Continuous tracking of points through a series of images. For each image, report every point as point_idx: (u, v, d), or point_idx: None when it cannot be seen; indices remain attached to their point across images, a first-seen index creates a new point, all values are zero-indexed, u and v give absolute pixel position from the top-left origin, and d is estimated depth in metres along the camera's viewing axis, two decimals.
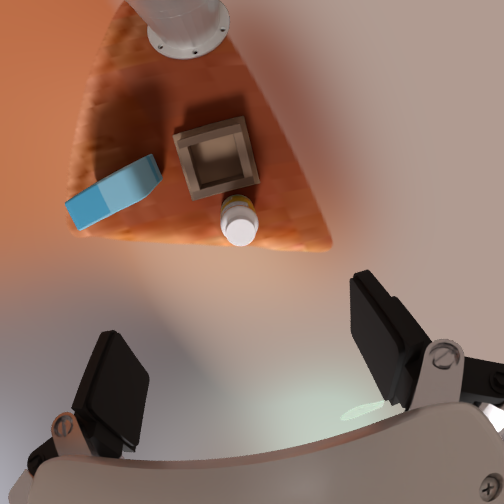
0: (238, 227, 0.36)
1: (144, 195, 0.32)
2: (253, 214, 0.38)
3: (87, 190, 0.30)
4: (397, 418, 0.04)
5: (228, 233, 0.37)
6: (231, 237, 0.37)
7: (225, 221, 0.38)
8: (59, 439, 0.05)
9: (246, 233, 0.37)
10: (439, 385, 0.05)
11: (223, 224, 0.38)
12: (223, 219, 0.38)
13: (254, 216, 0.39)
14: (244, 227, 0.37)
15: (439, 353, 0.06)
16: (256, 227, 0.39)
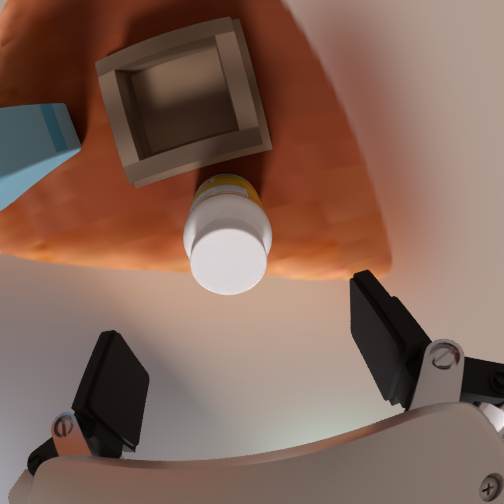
0: (223, 249, 0.14)
1: None
2: (260, 215, 0.16)
3: None
4: (397, 418, 0.04)
5: (196, 265, 0.14)
6: (204, 276, 0.14)
7: (191, 231, 0.15)
8: (59, 439, 0.05)
9: (243, 265, 0.14)
10: (439, 385, 0.05)
11: (188, 239, 0.16)
12: (187, 227, 0.16)
13: (263, 220, 0.16)
14: (238, 250, 0.14)
15: (439, 353, 0.06)
16: (267, 246, 0.16)
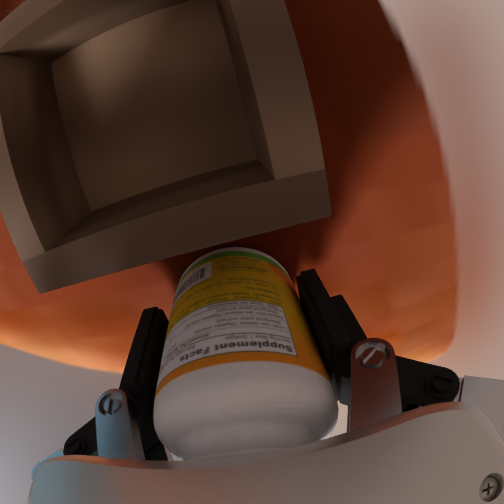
0: None
1: None
2: (325, 403, 0.06)
3: None
4: (397, 418, 0.04)
5: None
6: None
7: (168, 436, 0.06)
8: (107, 417, 0.06)
9: None
10: (360, 382, 0.06)
11: (165, 442, 0.06)
12: (159, 424, 0.06)
13: (329, 410, 0.06)
14: None
15: (366, 353, 0.07)
16: (327, 436, 0.07)
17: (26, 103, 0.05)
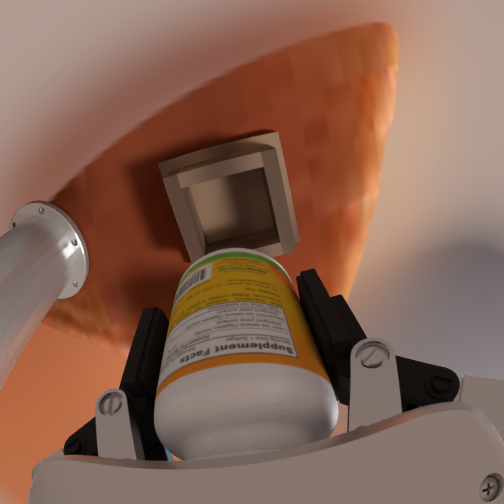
0: None
1: None
2: (326, 405, 0.06)
3: None
4: (397, 418, 0.04)
5: None
6: None
7: (169, 437, 0.06)
8: (107, 417, 0.06)
9: None
10: (360, 382, 0.06)
11: (165, 443, 0.06)
12: (159, 426, 0.06)
13: (329, 411, 0.06)
14: None
15: (366, 353, 0.07)
16: (327, 437, 0.07)
17: (226, 248, 0.25)
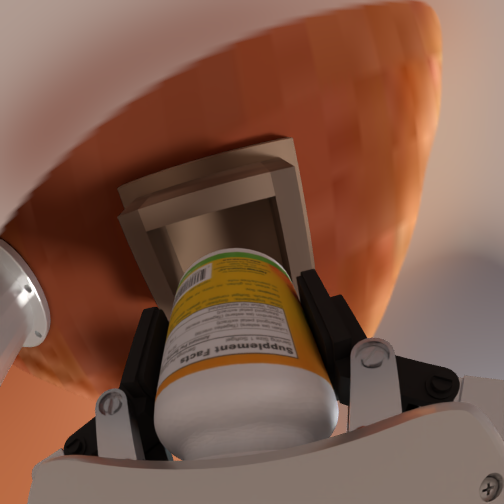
0: None
1: None
2: (326, 405, 0.06)
3: None
4: (397, 418, 0.04)
5: None
6: None
7: (169, 438, 0.06)
8: (107, 417, 0.06)
9: None
10: (360, 382, 0.06)
11: (165, 443, 0.06)
12: (160, 426, 0.06)
13: (329, 412, 0.06)
14: None
15: (366, 353, 0.07)
16: None
17: None
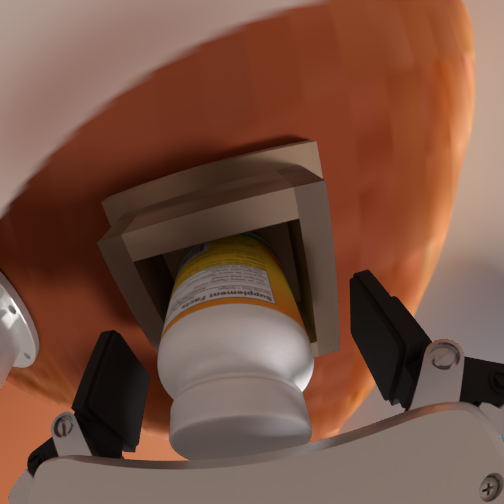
0: (231, 436, 0.06)
1: None
2: (299, 343, 0.08)
3: None
4: (397, 418, 0.04)
5: (183, 448, 0.06)
6: (199, 456, 0.06)
7: (169, 372, 0.08)
8: (59, 439, 0.05)
9: (268, 446, 0.06)
10: (439, 385, 0.05)
11: (166, 381, 0.08)
12: (162, 363, 0.08)
13: (303, 351, 0.08)
14: (260, 435, 0.06)
15: (439, 353, 0.06)
16: (306, 383, 0.09)
17: None
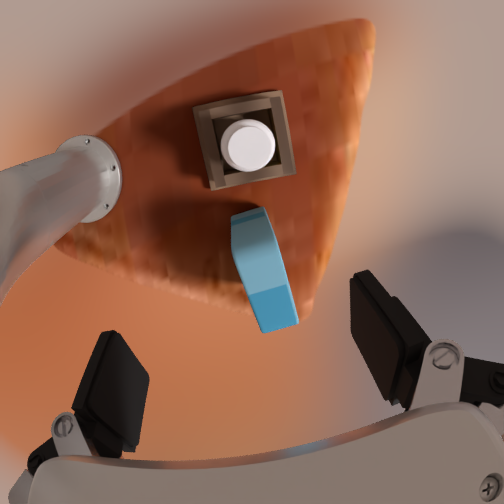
0: (247, 138, 0.23)
1: (273, 239, 0.27)
2: (268, 130, 0.25)
3: (253, 307, 0.29)
4: (397, 418, 0.04)
5: (231, 147, 0.23)
6: (235, 154, 0.23)
7: (227, 136, 0.25)
8: (59, 439, 0.05)
9: (258, 149, 0.23)
10: (439, 385, 0.05)
11: (225, 141, 0.25)
12: (225, 134, 0.25)
13: (270, 133, 0.25)
14: (256, 139, 0.23)
15: (439, 353, 0.06)
16: (272, 149, 0.26)
17: None
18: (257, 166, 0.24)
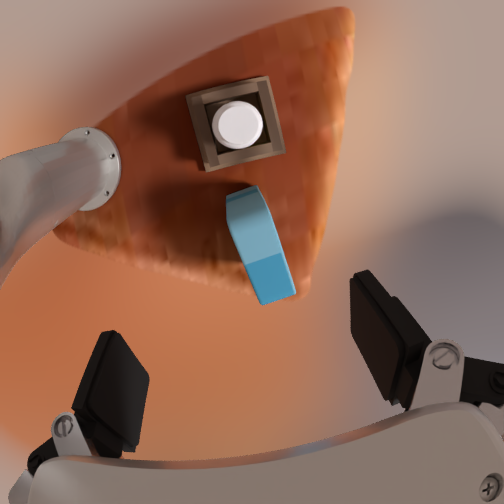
0: (235, 116, 0.24)
1: (265, 208, 0.28)
2: (255, 109, 0.26)
3: (250, 277, 0.31)
4: (397, 418, 0.04)
5: (221, 125, 0.24)
6: (225, 132, 0.25)
7: (218, 117, 0.26)
8: (59, 439, 0.05)
9: (246, 125, 0.25)
10: (439, 385, 0.05)
11: (215, 122, 0.26)
12: (215, 116, 0.26)
13: (257, 112, 0.26)
14: (243, 117, 0.24)
15: (439, 353, 0.06)
16: (260, 127, 0.27)
17: (232, 150, 0.33)
18: (246, 141, 0.25)
